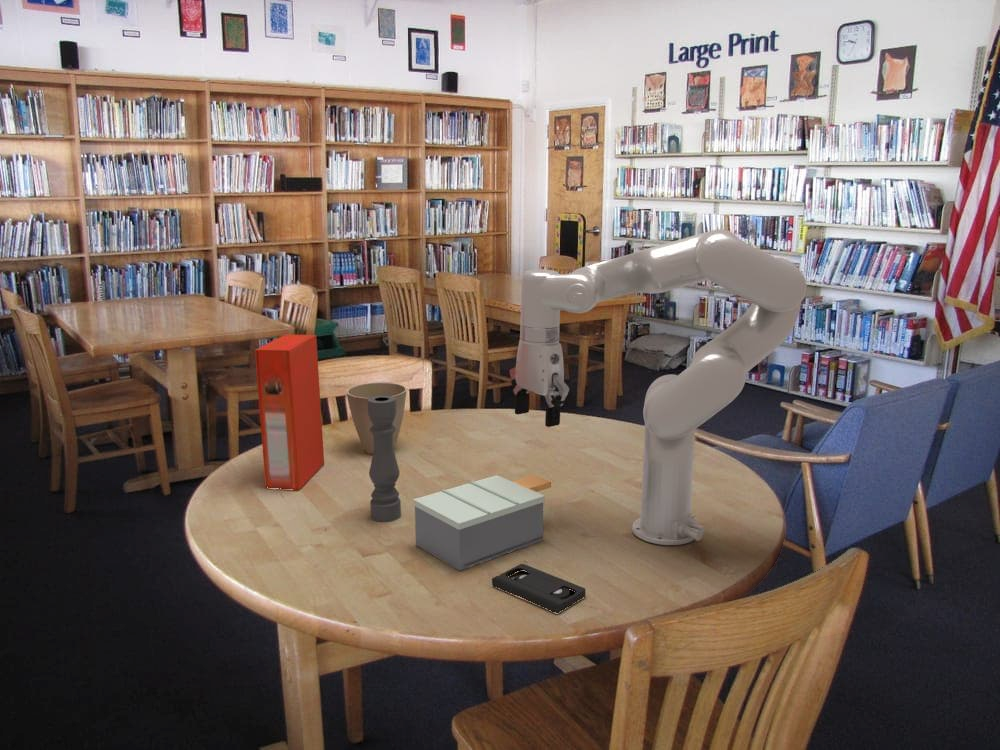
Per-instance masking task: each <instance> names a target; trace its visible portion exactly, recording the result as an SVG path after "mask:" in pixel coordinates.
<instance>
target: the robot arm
mask: <svg viewBox="0 0 1000 750" xmlns="http://www.w3.org/2000/svg"><path fill="white" fill-rule="evenodd" d="M706 281H710V282H712V283H714V284H715V285H718V286H719V287H721V288H723V289H724V290H727V291H729V292H730V293H732V294H734V295H737V296H739V297H741V298H742V299H744V300H746V301H748V302H750V303H751V305H750V306H749V307H748V308H747V310H746V311H745V312H744V314H742V315H741V316H740V317H739V318H737V319H736V320H735V321H734V322H733V323H732V324H731V325H730V326H728V327H727V328H726V329H724V330H723V331H721V332H720V333H719V334H717V336H715V337H714V338H712V339H711V340H709V341H708V342H706V344H704V345H702V346H701V347H700V348H698V350H697V351H696V352H695V353H694V354H693V357H692V359H691V363H690V366H688V367H687V368H686V369H684V370H683V371H681V373H679V374H678V375H677V374H665V375H662V376H659V377H658V378H656V379H655V380H654V381H653V382H652V383H651V384H650V385H649V387H648V389H647V391H646V394H645V398H644V404H643V405H644V406H643V409H642V410H643V412H642V415H643V421H644V435H643V437H644V438H643V456H642V473H641V475H642V476H641V477H642V478H641V479H642V480H641V497H640V498H641V500H640V501H641V503H640V517H638V518H637V519H635V520H634V521H633V522H632V528H631V530H632V532H633V534H634V535H635V536H636V537H637V538H638V539H641V540H642V541H645V542H648V543H651V544H655V545H661V546H679V545H685V544H689V543H691V542H693V541H694V540H695V541H697V542H698V541H700V540H702V538H703V534H704V533H705V526H702V525H699V524H697V523H696V522H695V519H696V515H695V514H692V513H691V509H692V508H691V505H692V494H693V493H692V489H693V471H694V470H693V469H694V459H695V443H696V442H695V441H696V439H695V438H696V429H697V428H698V427H700V426H701V425H703V424H704V423H706V422H707V421H708V420H709V419H711V418H713V416H714V415H716V414H717V413H718V412H720V411H722V410H723V409H725V407H727V406H728V405H729V404H730V403H732V402H733V401H734V400H735V399H736V398H737V397H738V396H739V395H740V393H741V392H742V390H743V388H744V386H745V383H746V379H747V374H748V373H749V371H751V370H752V369H753V368H754V367H756V366H757V365H758V364H759V363H761V362H762V361H763V360H764V359H765V358H766V357H767V356H769V355H770V354H771V353H773V352H775V350H776V349H777V348H778V347H780V346H781V344H782V343H784V341H786V339H787V338H788V337H789V335H790V334H791V333H792V331H793V329H794V328H795V325H796V322H797V321H798V317H799V315H800V311H801V308H802V307H801V306H802V302H803V301H804V299H805V297H806V292H807V280H806V278H805V275H804V273H803V272H802V271H801V270H800V269H799V268H798V266H796V264H795V263H794V262H792V261H791V260H789V259H787V258H782V257H775V256H773V255H771V254H768V253H766V252H764V251H763V250H761V249H759V248H757V247H755V246H752V245H751V244H749V243H747V242H746V241H744V240H742V239H741V238H739V237H738V236H737V235H736V234H735V233H733V232H732V231H731V230H729V229H723V228H722V229H721V228H719V229H713V230H708V231H706V232H701V233H698V234H695V235H691V236H688V237H684V238H681V239H677V240H673V241H669V242H666V243H663V244H659V245H655V246H652V247H648V248H645V249H641V250H638V251H636V252H632V253H629V254H626V255H622V256H618V257H616V258H615V257H614V258H611V259H607V260H603V261H601V262H596V263H593V264H589V265H585V266H583V267H580V268H578V269H575V270H574V271H572V272H570V273H565V274H564V273H562V274H561V273H560V272H558V271H556V270H553V269H552V270H551V269H544V268H543V269H542V268H539V269H538V268H537V269H536V268H534V269H529V270H526V271H524V272H523V274H522V277H521V289H520V290H521V297H520V327H519V331H520V333H519V341H518V346H517V351H516V353H517V354H516V362H515V366H514V367H513V368H510V369H509V376H510V379H511V382H510V383H511V386H512V387H513V390H512V391H513V394H514V395H515V397H514V414H515V415H522V414H528V413H529V412H530V392H532V393H535V394H537V395H541V396H543V397H544V399H545V402H546V404H547V405H548V406H546V407H545V421H544V425H545V427H547V428H551V427H556V426H559V425H560V424H561V407H562V406H563V405H564V403H565V402H566V400H567V396H568V394H569V391H570V387H569V385H567V383H565V367H564V354H563V347H562V343H560V337H561V336H560V324H561V323H560V320H561V319H560V318H561V311H565V312H569V313H573V314H574V313H575V314H583V313H588V312H589V311H591V310H592V309H593V308H595V306H596V305H597V303H600V302H604V301H607V300H611V299H615V298H618V297H622V296H625V295H631V294H638V293H639V294H642V293H643V294H650V295H651V294H652V295H653V294H661V293H666V292H669V291H672V290H676V289H680V288H683V287H688V286H690V285H694V284H698V283H703V282H706ZM552 396H553V398H552Z"/></svg>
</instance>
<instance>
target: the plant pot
mask: <svg viewBox="0 0 1000 750" xmlns="http://www.w3.org/2000/svg"><path fill="white" fill-rule="evenodd" d="M346 396H347V400H348V401H347V402H348V406H349V410H350V415H351V418H352V421H353V425H354V428H355V430H356V433H357V435H358V438H359V440H360V443H361V445H362V448H363V450H364V451H365V452H366V453H367V454H369V455H373V451H374V437H373V434H372V433H371V432H370V428H371V427H372V426H373V424H372V421H371V420H370V417H369V416H368V401H367V400H368V398H371V397H374V396H393V397H395V398H396V411H397V414H396V415H395V419H394V421H393V423H392V425H394V426H395V427H396V431H395V432H394V434H393V449H395V447H396V444H397V441H398V439H399V435H400V433H401V432H400V431H401V427H402V423H403V418H404V412H405V407H406V401H407V400H406V398H407V386H405V385H403V384H400V383H394V382H367V383H366V382H365V383H362V384H357V385H354V386H351V387H349V388H347V390H346Z"/></svg>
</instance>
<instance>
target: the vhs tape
mask: <svg viewBox="0 0 1000 750" xmlns="http://www.w3.org/2000/svg"><path fill="white" fill-rule="evenodd" d="M520 570H525V571H527V572H529V573H530V574H528V573H525V574H518V575H517V576H515V577H514V578H512V577H508V576H510V575H512V574H514V573H515V572H517V571H520ZM520 572H521V571H520ZM492 585H493V586H494V587H497V588H500V589H502V590H504V591H507V592H509V593H512V594H514V595H517V596H520V597H522V598H524V599H526V600H528V601H531V602H533V603H535V604H537V605H540V606H541V607H544V608H547V609H548V610H551V611H552V612H556V613H559V612H560V611H562V610H564V609H565V608H567V607H569V606H571V605H572V604H573V603H575V602H577V601H578V600H580V599H582V598H583V597H585V598H586V588H585V587H583V586H580V585H577V584H575V583H574V582H573V583H572V582H570V581H567V580H565V579H562V578H559V577H557V576H555V575H552V574H550V573H547V572H545V571H542V570H540V569H537V568H534V567H532V566H530V565H527V564H525V563H519V564H518V565H516V566H513V567H512V568H510V569H508V570H506V571H504V572H503V573H500V574H499V575H496V576H494V577H492V578H491V586H492ZM494 587H493V588H494ZM497 588H496V589H497ZM569 589H571V590H573V591H575V592H576V593H575V592H574V594H572V595H571V596H570V590H569ZM573 591H572V592H573ZM582 600H583V599H582ZM577 603H578V602H577ZM572 606H573V605H572ZM572 606H571V607H572ZM569 608H570V607H569ZM564 611H565V610H564ZM552 612H551V613H552Z"/></svg>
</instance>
